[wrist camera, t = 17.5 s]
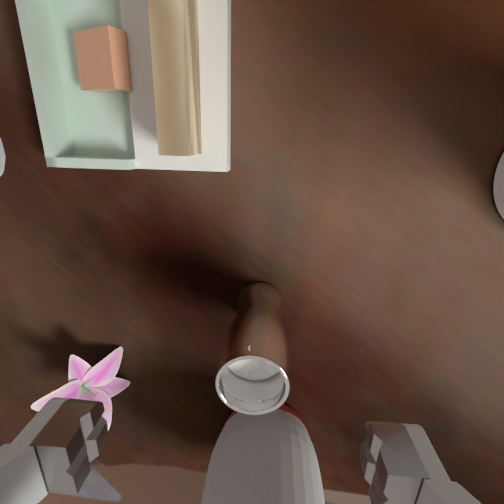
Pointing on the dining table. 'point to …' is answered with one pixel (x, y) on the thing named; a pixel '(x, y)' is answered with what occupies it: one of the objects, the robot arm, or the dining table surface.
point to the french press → (2, 158)
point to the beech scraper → (176, 75)
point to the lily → (91, 383)
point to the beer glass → (255, 354)
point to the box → (74, 87)
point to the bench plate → (211, 88)
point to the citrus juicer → (264, 462)
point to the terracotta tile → (102, 59)
